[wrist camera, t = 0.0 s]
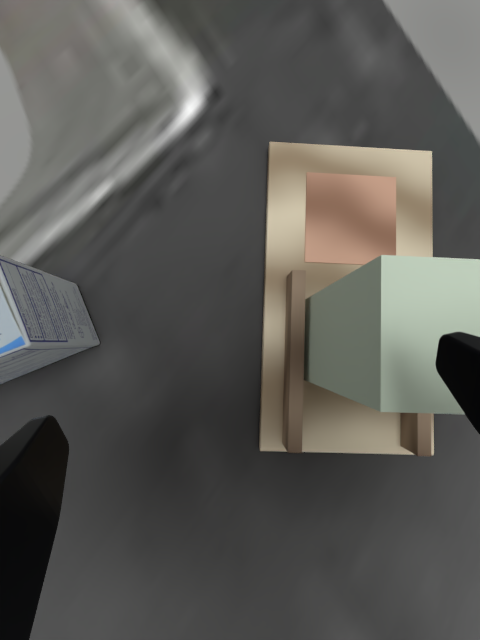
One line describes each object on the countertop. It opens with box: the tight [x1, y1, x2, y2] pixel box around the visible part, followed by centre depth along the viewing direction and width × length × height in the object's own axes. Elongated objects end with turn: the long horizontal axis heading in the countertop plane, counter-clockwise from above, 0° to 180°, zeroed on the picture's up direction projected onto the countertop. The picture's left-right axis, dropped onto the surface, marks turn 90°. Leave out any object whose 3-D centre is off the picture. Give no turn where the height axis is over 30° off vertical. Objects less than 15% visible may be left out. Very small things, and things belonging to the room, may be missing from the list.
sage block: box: [304, 255, 480, 414], centre depth 17 cm, size 5×6×11 cm
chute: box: [259, 142, 434, 456], centre depth 22 cm, size 20×11×3 cm, turn 178°
